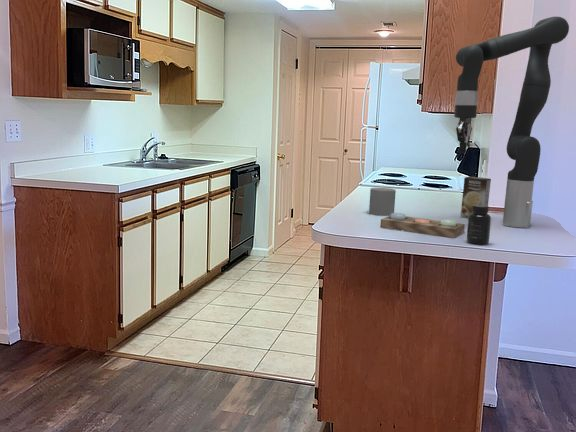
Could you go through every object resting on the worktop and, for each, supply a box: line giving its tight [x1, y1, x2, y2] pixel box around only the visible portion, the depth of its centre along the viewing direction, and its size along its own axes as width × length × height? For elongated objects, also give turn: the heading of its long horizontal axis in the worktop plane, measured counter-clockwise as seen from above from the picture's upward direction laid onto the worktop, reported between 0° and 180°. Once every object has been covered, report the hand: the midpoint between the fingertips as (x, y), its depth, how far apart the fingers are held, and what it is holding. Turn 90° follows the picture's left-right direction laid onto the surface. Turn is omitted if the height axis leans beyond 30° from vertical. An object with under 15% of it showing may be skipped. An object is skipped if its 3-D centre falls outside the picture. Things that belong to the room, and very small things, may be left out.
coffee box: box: [460, 175, 492, 219], centre depth 229 cm, size 9×6×16 cm
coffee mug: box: [368, 186, 397, 217], centre depth 233 cm, size 13×10×10 cm
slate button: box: [391, 212, 406, 220], centre depth 205 cm, size 5×5×3 cm
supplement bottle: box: [466, 205, 492, 246], centre depth 183 cm, size 7×7×12 cm
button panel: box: [379, 215, 466, 239], centre depth 201 cm, size 26×12×3 cm, turn 58°
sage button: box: [440, 218, 457, 227], centre depth 196 cm, size 5×5×3 cm
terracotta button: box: [415, 218, 431, 224], centre depth 201 cm, size 5×5×3 cm
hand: (462, 153), depth 208 cm, fingers closed
